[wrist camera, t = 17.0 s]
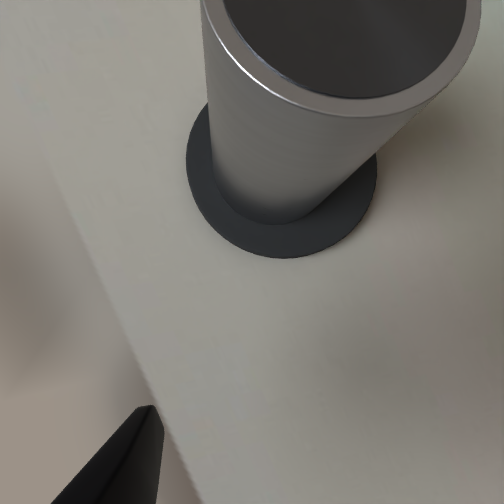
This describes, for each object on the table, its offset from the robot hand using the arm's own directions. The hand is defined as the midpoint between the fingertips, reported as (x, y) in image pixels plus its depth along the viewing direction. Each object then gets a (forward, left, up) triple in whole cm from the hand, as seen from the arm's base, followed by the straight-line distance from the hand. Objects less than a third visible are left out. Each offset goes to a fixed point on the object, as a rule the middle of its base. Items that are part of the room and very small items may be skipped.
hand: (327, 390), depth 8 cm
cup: (+7, +8, -7) cm, 13 cm away
